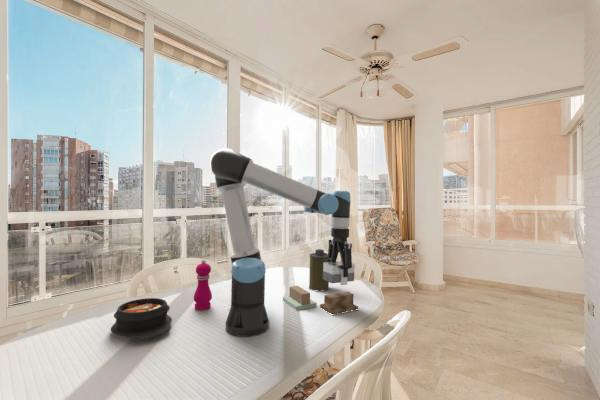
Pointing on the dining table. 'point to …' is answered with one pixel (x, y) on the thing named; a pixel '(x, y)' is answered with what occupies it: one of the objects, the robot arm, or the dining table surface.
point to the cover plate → (336, 267)
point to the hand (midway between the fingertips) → (338, 282)
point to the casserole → (142, 318)
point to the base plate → (336, 277)
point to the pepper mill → (203, 287)
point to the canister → (317, 271)
